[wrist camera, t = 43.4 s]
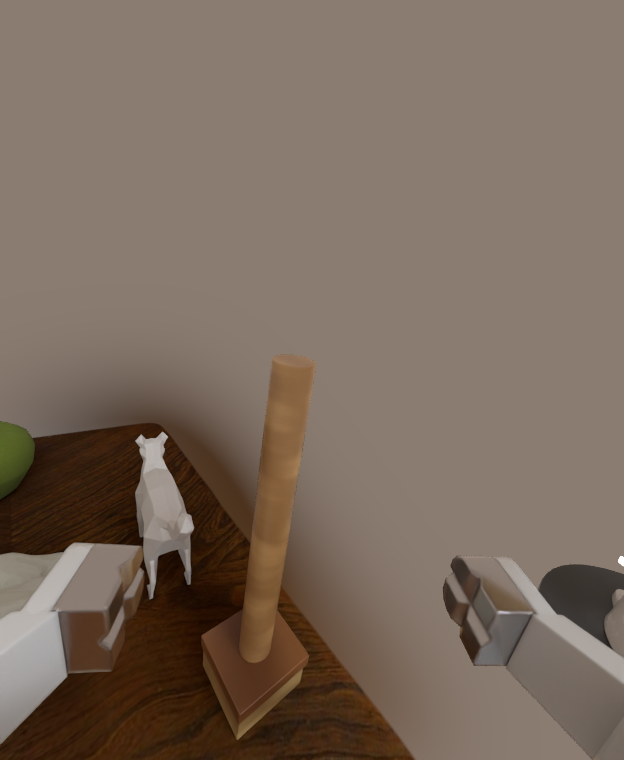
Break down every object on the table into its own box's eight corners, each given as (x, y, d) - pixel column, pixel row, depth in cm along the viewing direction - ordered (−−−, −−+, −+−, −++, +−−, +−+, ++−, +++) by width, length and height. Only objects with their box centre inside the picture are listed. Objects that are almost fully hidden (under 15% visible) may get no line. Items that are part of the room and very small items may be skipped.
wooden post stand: (262, 620, 32) (302, 344, 23) (303, 683, 28) (371, 373, 19) (199, 664, 28) (218, 348, 19) (235, 746, 24) (282, 386, 15)
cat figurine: (168, 499, 46) (169, 407, 41) (209, 636, 30) (218, 513, 26) (132, 508, 43) (128, 411, 39) (156, 661, 28) (155, 530, 23)
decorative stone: (132, 598, 31) (51, 588, 23) (43, 711, 27) (-92, 746, 19) (71, 532, 35) (-14, 505, 28) (-12, 621, 31) (-140, 618, 23)
